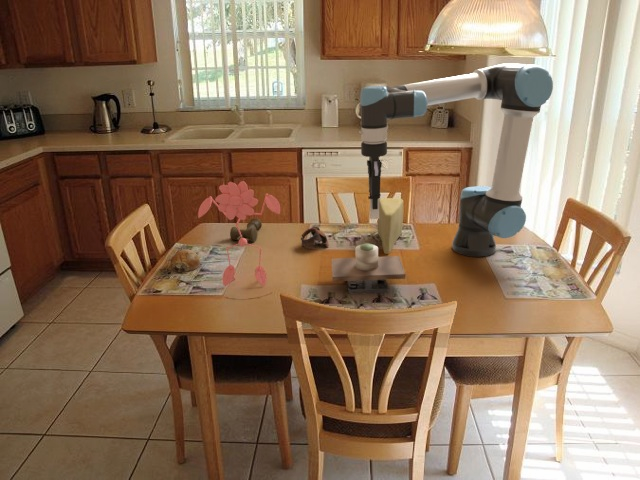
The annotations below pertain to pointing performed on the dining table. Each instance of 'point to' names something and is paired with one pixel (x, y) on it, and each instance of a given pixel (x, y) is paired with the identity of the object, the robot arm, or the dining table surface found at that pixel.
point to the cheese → (390, 222)
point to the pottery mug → (314, 237)
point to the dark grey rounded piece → (247, 231)
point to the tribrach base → (368, 286)
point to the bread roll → (185, 261)
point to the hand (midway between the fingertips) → (374, 217)
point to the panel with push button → (367, 266)
